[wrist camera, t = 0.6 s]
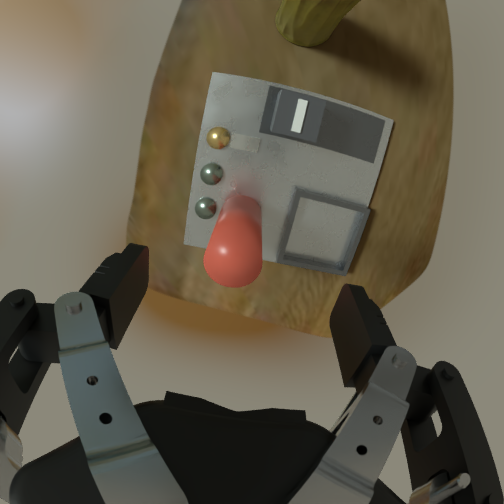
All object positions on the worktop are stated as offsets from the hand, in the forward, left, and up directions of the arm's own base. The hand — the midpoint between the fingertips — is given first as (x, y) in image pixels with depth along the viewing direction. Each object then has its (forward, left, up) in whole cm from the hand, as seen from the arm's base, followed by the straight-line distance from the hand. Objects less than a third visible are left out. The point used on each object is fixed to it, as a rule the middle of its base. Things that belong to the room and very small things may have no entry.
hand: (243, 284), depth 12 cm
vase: (-18, +2, -22) cm, 29 cm away
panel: (0, +4, -22) cm, 22 cm away
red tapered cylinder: (+5, 0, -21) cm, 22 cm away
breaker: (-7, +3, -21) cm, 23 cm away
